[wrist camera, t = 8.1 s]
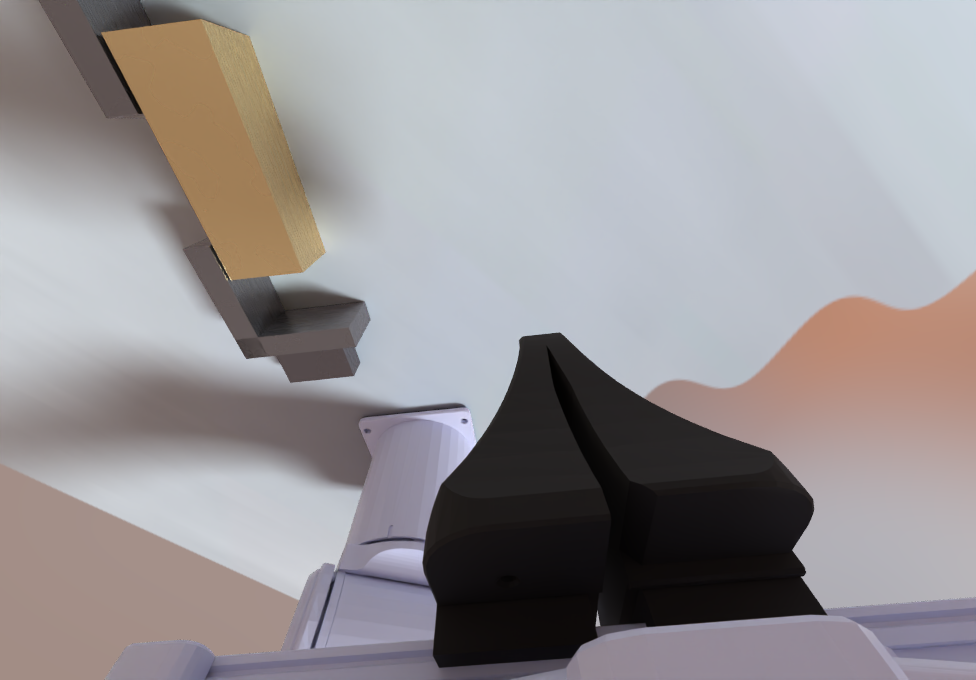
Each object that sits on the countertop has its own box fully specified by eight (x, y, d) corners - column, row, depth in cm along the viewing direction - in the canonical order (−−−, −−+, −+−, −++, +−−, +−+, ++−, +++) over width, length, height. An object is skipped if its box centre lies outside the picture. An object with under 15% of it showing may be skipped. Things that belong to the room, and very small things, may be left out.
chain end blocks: (383, 360, 23) (371, 390, 20) (293, 369, 23) (270, 400, 21) (181, -255, 11) (90, -372, 8) (-5, -223, 11) (-150, -326, 8)
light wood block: (327, 250, 19) (302, 272, 17) (265, 257, 19) (230, 280, 17) (252, 37, 15) (200, 18, 12) (170, 48, 15) (100, 32, 12)
